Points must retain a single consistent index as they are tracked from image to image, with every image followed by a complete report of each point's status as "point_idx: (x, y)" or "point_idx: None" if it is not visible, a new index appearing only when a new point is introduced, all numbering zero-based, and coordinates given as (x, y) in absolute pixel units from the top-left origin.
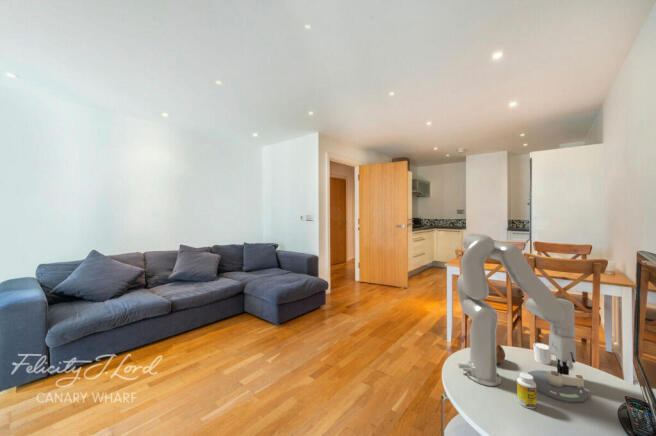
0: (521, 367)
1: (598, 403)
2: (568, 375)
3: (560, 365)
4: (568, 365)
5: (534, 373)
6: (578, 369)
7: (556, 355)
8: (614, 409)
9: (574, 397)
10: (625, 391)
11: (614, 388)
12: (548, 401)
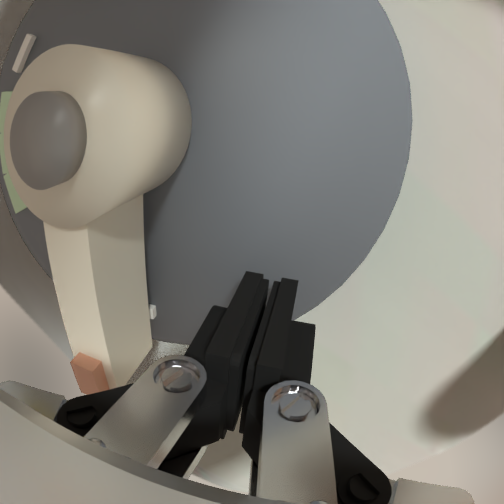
0: (491, 12)
1: (50, 295)
2: (88, 302)
3: (193, 365)
4: (10, 392)
5: (325, 5)
6: (408, 452)
7: (36, 492)
8: (39, 326)
9: (6, 176)
10: (206, 472)
11: (221, 462)
12: (13, 14)
